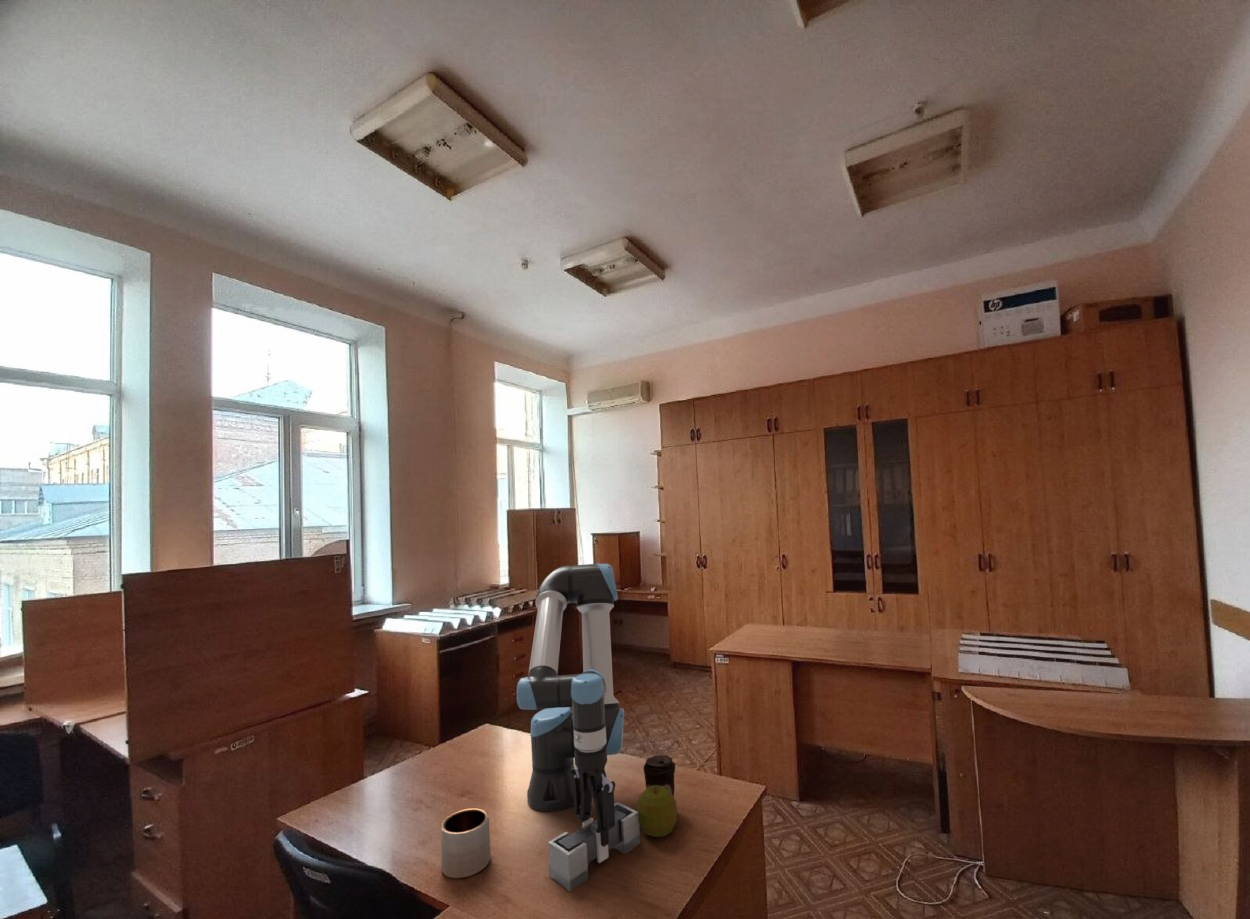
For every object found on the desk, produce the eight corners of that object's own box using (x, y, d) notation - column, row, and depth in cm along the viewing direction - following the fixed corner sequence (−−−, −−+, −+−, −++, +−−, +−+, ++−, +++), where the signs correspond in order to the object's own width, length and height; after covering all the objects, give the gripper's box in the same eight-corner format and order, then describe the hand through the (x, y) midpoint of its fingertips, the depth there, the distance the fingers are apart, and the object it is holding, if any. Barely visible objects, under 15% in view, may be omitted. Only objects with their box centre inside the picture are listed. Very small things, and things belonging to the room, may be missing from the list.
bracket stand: (549, 876, 115) (547, 842, 116) (619, 832, 130) (617, 802, 131) (570, 891, 110) (568, 855, 111) (640, 843, 125) (638, 812, 125)
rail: (558, 866, 115) (557, 841, 116) (616, 831, 127) (615, 809, 127) (569, 874, 112) (568, 849, 113) (628, 838, 124) (626, 815, 124)
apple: (638, 822, 134) (635, 776, 135) (677, 820, 133) (673, 774, 135) (638, 846, 124) (635, 796, 125) (679, 844, 123) (676, 794, 125)
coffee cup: (676, 823, 132) (672, 768, 133) (643, 822, 134) (640, 767, 135) (680, 804, 140) (676, 753, 142) (649, 803, 142) (645, 752, 143)
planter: (448, 853, 126) (447, 810, 127) (494, 847, 127) (492, 805, 128) (435, 883, 115) (434, 836, 116) (486, 877, 116) (484, 830, 117)
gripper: (555, 742, 126) (559, 848, 123) (602, 762, 114) (609, 880, 111) (579, 732, 131) (584, 833, 128) (627, 750, 119) (634, 862, 116)
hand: (596, 855), depth 120 cm, fingers closed on rail, 4 cm apart
